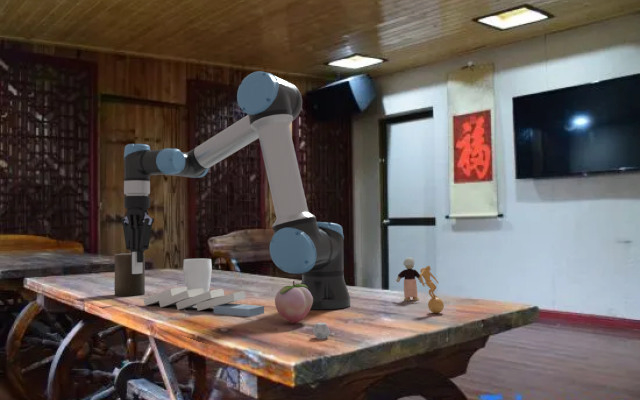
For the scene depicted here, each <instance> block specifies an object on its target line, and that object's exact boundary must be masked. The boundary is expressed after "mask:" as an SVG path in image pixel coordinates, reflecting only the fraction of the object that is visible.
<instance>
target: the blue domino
mask: <svg viewBox="0 0 640 400" xmlns="http://www.w3.org/2000/svg"><path fill="white" fill-rule="evenodd" d="M213 314H217V315H218V314H219V315H225V316H226V315H228V316H237V317H248V318H250V317H255V316H260V315H262V314H265V306H264V305H254V304H243V303H233V302H231V303H227V304H223V305H217V306H214V307H213Z"/></svg>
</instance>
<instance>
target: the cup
mask: <svg viewBox="0 0 640 400" xmlns="http://www.w3.org/2000/svg"><path fill="white" fill-rule="evenodd" d="M212 270H213V265H212V259H211V258H186V259H183V268H182V271H183V277H184V284H185V287H187V290H192V289H199V288H203V289H204V293H205V292H208V291H210V286H211V279H212Z"/></svg>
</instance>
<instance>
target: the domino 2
mask: <svg viewBox="0 0 640 400" xmlns="http://www.w3.org/2000/svg"><path fill="white" fill-rule="evenodd" d="M202 293H204V289H203V288H199V289H192V290H186V291H184V292H181V293H178V294H176V295H173V296H170V297H167V298H165V299H162V300H159V307H160V308H165V307H171V306H177V305H176V303H177V302H180V301H183V300H185V299H188V298H191V297H194V296H197V295H199V294H202Z"/></svg>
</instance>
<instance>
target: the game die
mask: <svg viewBox="0 0 640 400" xmlns="http://www.w3.org/2000/svg"><path fill="white" fill-rule="evenodd" d="M311 330H312V332H313V334H314V336H315V338H316V339H317V340H326V339H327V338H328V337H329V336H330V334H331V331H330V328H329V327H328V325H327V323H326V322H317V323H315V324H314V325H313V327H312V329H311Z"/></svg>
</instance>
